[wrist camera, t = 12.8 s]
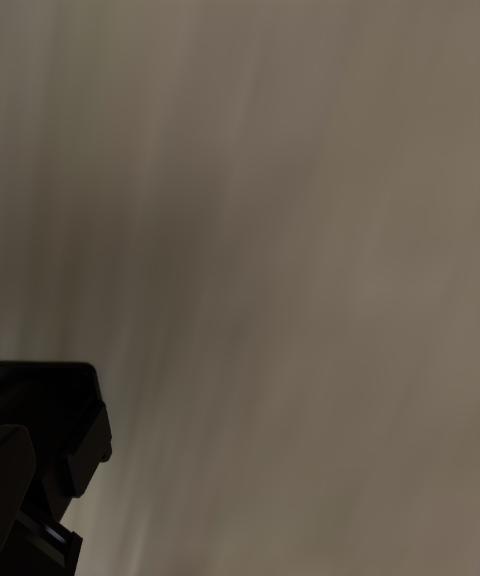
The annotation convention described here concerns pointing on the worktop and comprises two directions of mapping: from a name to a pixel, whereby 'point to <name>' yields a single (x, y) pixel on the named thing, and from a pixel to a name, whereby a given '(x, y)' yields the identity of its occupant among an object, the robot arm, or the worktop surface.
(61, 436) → the robot arm
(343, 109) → the worktop surface
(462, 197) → the worktop surface
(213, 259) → the worktop surface
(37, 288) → the worktop surface
